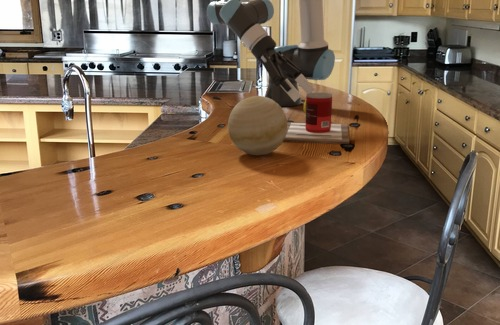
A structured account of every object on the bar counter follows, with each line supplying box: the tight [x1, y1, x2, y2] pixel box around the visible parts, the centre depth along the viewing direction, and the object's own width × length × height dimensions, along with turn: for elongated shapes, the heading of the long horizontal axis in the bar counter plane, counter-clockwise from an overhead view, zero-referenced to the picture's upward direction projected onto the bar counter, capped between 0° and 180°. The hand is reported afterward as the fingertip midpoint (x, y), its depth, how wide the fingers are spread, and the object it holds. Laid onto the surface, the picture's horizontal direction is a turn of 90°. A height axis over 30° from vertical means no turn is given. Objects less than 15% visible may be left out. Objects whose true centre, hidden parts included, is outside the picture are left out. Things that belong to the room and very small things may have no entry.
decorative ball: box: [227, 95, 288, 156], centre depth 132 cm, size 15×15×15 cm
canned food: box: [304, 92, 333, 133], centre depth 157 cm, size 8×8×11 cm
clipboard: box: [282, 121, 350, 145], centre depth 159 cm, size 26×20×2 cm
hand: (305, 95), depth 157 cm, fingers open, 13 cm apart
